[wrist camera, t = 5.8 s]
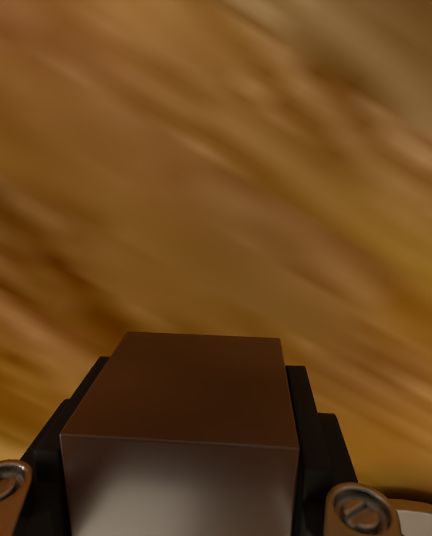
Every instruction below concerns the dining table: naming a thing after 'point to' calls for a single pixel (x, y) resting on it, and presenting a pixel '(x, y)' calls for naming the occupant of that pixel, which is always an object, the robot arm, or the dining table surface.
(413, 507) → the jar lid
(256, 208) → the dining table surface
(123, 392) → the walnut block
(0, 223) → the dining table surface
